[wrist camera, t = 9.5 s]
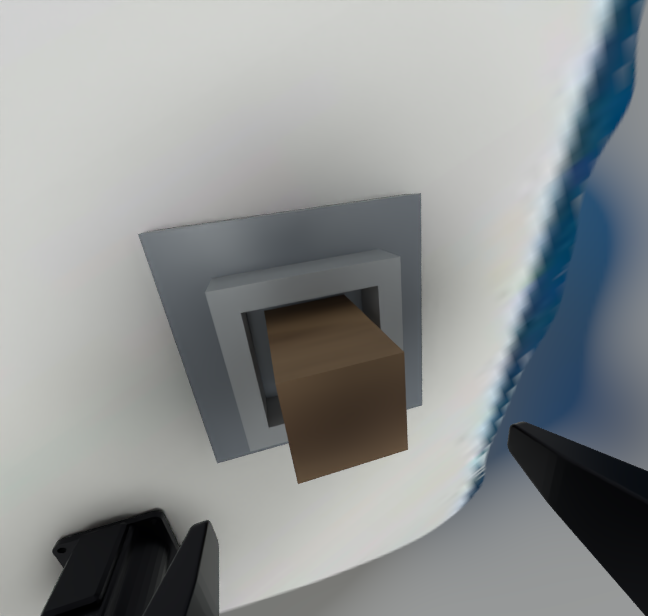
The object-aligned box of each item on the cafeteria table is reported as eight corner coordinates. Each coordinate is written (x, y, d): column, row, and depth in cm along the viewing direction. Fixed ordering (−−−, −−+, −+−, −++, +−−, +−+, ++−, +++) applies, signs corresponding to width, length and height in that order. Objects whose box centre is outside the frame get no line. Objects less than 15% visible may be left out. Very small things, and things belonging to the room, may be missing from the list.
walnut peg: (351, 363, 18) (407, 449, 12) (279, 381, 18) (298, 484, 11) (344, 294, 17) (404, 351, 10) (264, 310, 16) (275, 384, 10)
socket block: (411, 392, 22) (443, 430, 19) (219, 445, 20) (213, 500, 16) (406, 194, 17) (450, 192, 14) (148, 231, 15) (115, 240, 11)
